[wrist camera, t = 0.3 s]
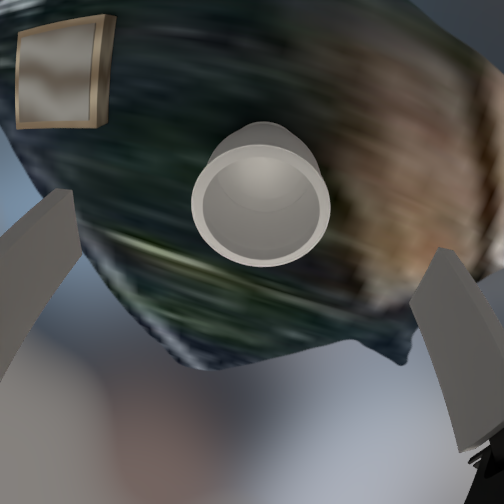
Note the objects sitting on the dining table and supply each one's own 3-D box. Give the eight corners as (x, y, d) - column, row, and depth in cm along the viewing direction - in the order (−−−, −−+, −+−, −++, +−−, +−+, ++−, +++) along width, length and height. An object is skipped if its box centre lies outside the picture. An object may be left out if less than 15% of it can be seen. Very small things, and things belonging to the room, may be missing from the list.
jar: (207, 176, 37) (175, 241, 25) (239, 98, 32) (218, 121, 19) (286, 207, 39) (293, 284, 27) (324, 135, 34) (357, 182, 21)
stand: (32, 31, 25) (17, 32, 22) (116, 16, 26) (103, 13, 23) (29, 123, 33) (15, 129, 30) (107, 122, 33) (95, 128, 31)
